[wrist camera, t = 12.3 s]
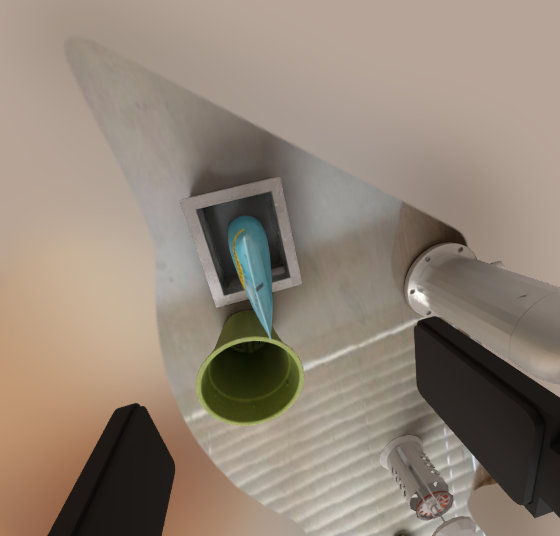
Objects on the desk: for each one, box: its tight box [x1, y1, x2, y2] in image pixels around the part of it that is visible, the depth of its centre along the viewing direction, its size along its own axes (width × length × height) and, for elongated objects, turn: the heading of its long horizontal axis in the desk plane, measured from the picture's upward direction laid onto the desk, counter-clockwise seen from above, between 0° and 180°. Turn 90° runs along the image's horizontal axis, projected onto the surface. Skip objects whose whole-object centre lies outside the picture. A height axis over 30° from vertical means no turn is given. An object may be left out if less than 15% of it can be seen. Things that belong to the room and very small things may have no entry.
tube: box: [227, 215, 273, 340], centre depth 26 cm, size 7×5×19 cm, turn 17°
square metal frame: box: [180, 177, 302, 308], centre depth 31 cm, size 10×12×6 cm
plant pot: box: [196, 310, 304, 426], centre depth 34 cm, size 12×12×11 cm
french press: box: [380, 435, 476, 536], centre depth 43 cm, size 10×12×25 cm
